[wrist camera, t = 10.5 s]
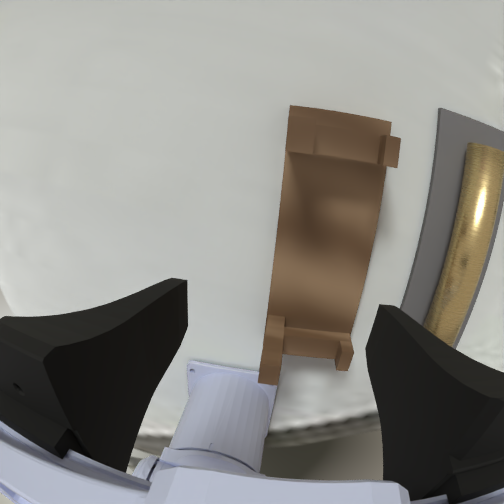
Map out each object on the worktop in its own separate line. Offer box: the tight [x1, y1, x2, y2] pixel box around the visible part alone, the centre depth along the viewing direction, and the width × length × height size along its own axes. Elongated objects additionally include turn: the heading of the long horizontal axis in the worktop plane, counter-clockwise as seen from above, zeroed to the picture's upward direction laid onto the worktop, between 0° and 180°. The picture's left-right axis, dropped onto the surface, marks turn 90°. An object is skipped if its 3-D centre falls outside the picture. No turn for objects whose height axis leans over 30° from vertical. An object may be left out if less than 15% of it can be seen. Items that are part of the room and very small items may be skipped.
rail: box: [423, 142, 504, 347], centre depth 18 cm, size 17×3×3 cm, turn 175°
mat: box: [400, 108, 504, 349], centre depth 19 cm, size 21×7×1 cm, turn 175°
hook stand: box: [258, 105, 401, 386], centre depth 17 cm, size 17×6×6 cm, turn 175°
